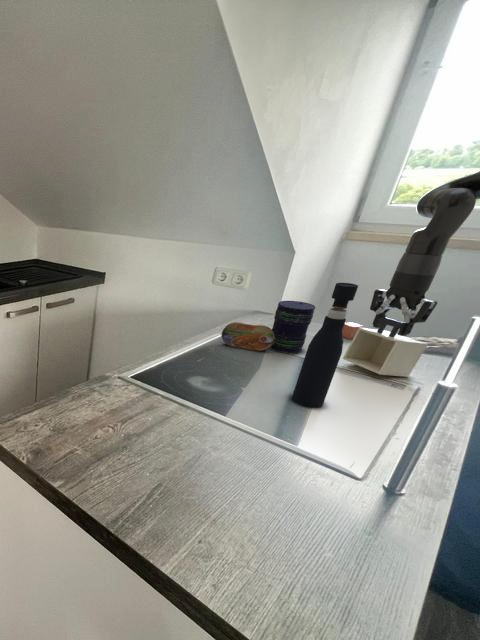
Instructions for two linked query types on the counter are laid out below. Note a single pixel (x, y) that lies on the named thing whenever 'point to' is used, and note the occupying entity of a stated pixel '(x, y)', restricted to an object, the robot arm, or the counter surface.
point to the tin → (248, 336)
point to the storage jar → (291, 325)
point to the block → (350, 329)
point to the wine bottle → (324, 351)
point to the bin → (385, 350)
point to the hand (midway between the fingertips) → (389, 331)
